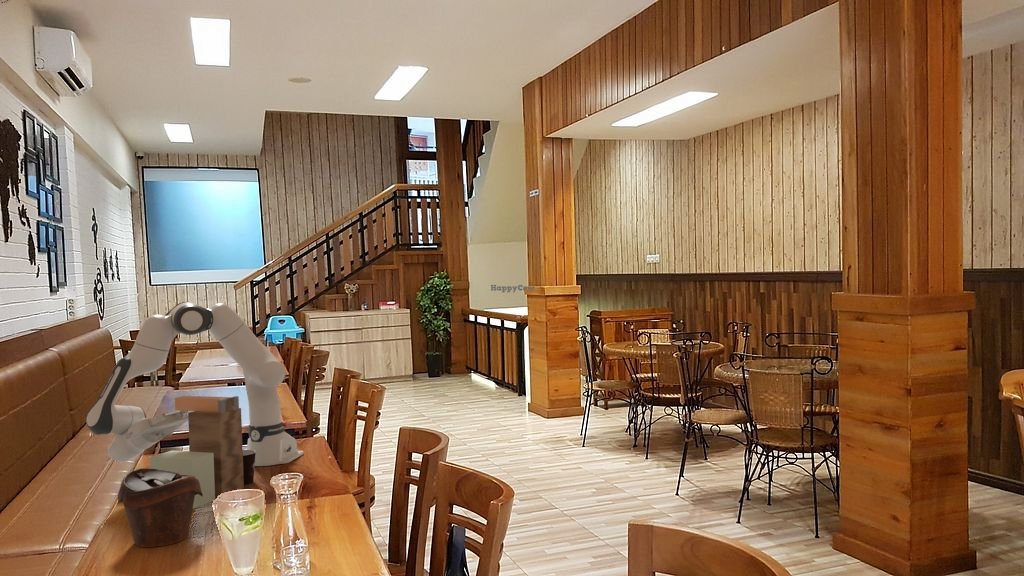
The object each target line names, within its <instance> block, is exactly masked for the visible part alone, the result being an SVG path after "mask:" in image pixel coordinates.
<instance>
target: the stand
mask: <svg viewBox="0 0 1024 576" xmlns="http://www.w3.org/2000/svg"><path fill="white" fill-rule="evenodd" d="M187 415H188V420H187V422H188V441H189V443H188V444H189V446H188V447H189V451H191V452H207V453H214V481H215V498H218V497H217V496H218V495H220V494H221V493H224V492H228V491H232V490H237V489H241V490H244V489H245V485H244V476H243V450H244V449H243V427H242V426H243V422H242V407H241V408H240V407H239V409H236V410H232V411H229V412H225V413H218V412H207V411H188V413H187Z"/></svg>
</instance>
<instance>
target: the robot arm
mask: <svg viewBox="0 0 1024 576" xmlns="http://www.w3.org/2000/svg"><path fill="white" fill-rule="evenodd" d="M206 331H209V332H210V333H211V334H212V335H213V337H215V339H216V340H217V341H218V343H219V344H220V345H221V346H222V347H223V349H224V350H225V351H226V353H227V354H228V355H229V356H230V357H231V358H232V359H233V360H234V361H235V362H236V363H237V364H238V365H239V366H240V368H242V374H243V377H244V385H245V390H246V395H247V396H246V397H247V401H248V413H249V414H248V415H249V424H248V429H247V430H248V436H249V438H248V439H247V445H246V450H255V451H256V455H255V467H267V466H274V465H280V464H281V465H282V464H283V465H285V464H289V463H290V462H292V461H294V460H296V459H297V458H300V457H301V456H303V455H305V452H304V451H303V450H301V449H298V445H297V444H298V443H297V439H296V438H294V437H293V436H291V435H290V434H289V433H287V432H286V431H285V428H288V427H289V422H288V421H282V413H281V400H280V397H279V393H278V389H277V386H279V385H281V384H282V383H283V381H284V380H285V377H286V369H285V366H284V365H283V364H282V363H281V361H279V359H278V358H277V357H276V356H275V355H274V354H273V353H272V352H271V351H270V350H269V349H268V347H266V345H264V343H262V341H260V340H259V339H258V338H257V336H256V334H254V333H253V331H252V330H251V329H250V327H249V326H248V325H247V323H246V322H245V321H244V320H243V319H242V317H241V316H240V315H239V314H238V313H237V312H236V311H235V310H233V309H232V307H230V306H229V305H228V304H227V303H224V302H218V303H215V304H212V305H211V306H209V307H206V308H205V307H203V306H201V305H199V304H198V303H196V302H192V301H182V302H179V303H178V304H176V305H174V306H173V307H172V308H171V309H169V311H168V312H167V313H165V315H164V314H152V315H150V316H148V317H147V318H146V319H145V320H144V321H143V323H142V325H141V327H140V330H139V331H138V334H137V335H136V339H135V341H134V344H133V345H132V348H131V350H130V351H129V352H128V353H127V355H125V356H124V357H122V358H121V359H118V361H117V362H116V364H115V366H114V368H113V370H111V373H110V374H109V375H108V376H109V377H108V378H107V380H106V383H105V384H104V386H103V388H102V389H101V391H100V394H99V395H98V398H97V399H96V401H95V402H94V404H93V405H92V406H91V407H90V409H89V411H87V414H86V418H85V424H86V426H87V428H88V429H89V431H90V432H91V433H92V434H94V435H96V436H97V435H98V436H99V435H100V436H101V435H114V438H113V439H112V442H111V443H110V445H108V447H107V454H108V457H110V459H112V460H113V461H115V462H118V463H126V462H128V461H130V460H132V459H135V458H136V457H137V456H139V455H141V454H142V453H143V452H144V451H145V450H147V449H149V448H150V447H152V446H154V445H155V444H157V443H158V442H159V441H161V440H163V439H165V438H168V437H170V436H172V435H173V434H174V433H175V432H174V431H176V430H178V429H179V428H180V427H182V426H183V425H184V424H186V423H187V422H188V413H189V411H181V410H176V411H173V412H169V413H165V412H163V413H159V414H158V415H156V416H154V417H150V418H149V417H147V415H146V413H145V411H144V409H143V408H141V407H140V406H135V405H134V406H133V405H122V404H121V405H120V404H116V403H117V402H118V399H119V397H120V395H121V394H122V391H123V389H124V387H125V386H126V384H127V383H128V382H129V381H130V380H132V379H133V378H136V377H140V376H142V375H145V374H146V375H147V374H150V373H154V372H155V371H158V370H159V369H160V368H162V367H163V366H164V364H165V363H166V360H167V358H168V355H169V351H170V350H171V346H172V342H173V341H174V339H175V337H177V336H178V335H180V334H183V335H185V336H193V335H199V334H201V333H203V332H206Z"/></svg>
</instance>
